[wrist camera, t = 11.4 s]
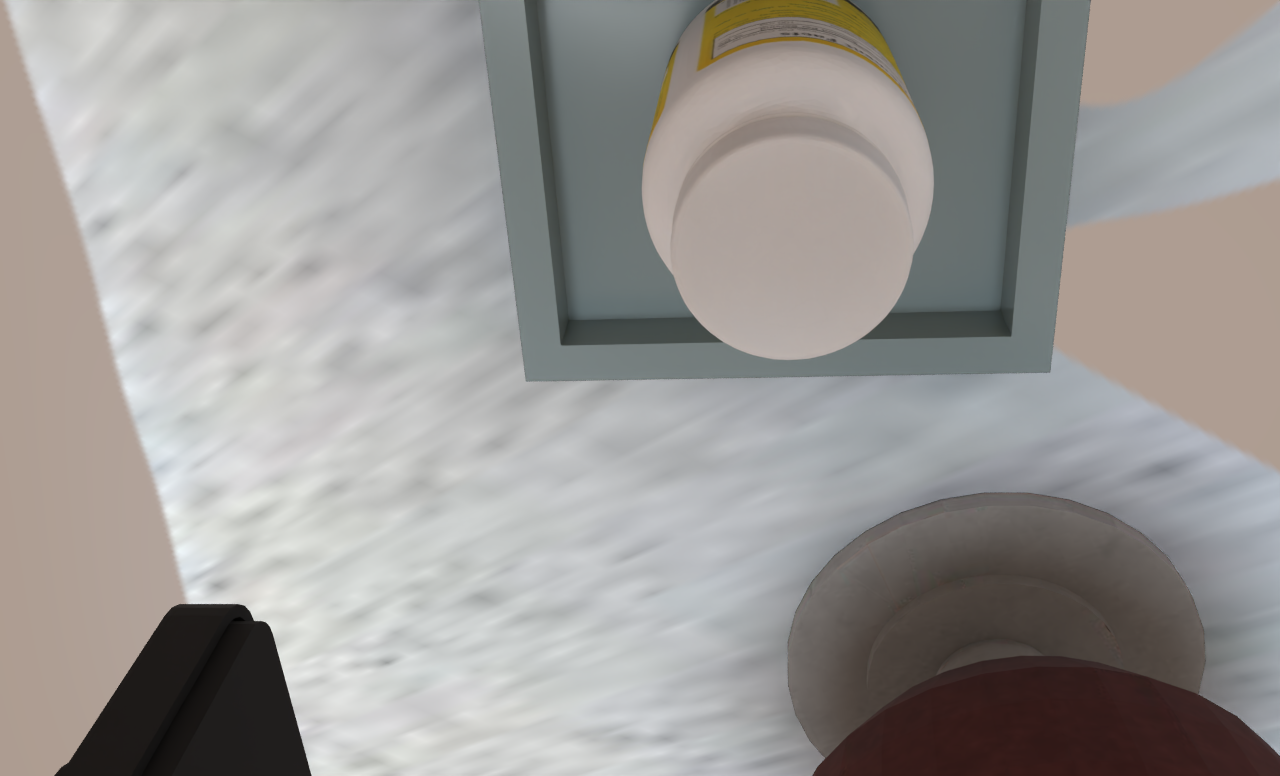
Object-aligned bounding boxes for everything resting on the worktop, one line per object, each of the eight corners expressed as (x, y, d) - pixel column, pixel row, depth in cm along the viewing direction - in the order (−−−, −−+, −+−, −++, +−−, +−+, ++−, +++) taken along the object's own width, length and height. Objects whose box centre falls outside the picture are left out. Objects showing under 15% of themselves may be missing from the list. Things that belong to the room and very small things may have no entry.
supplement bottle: (776, 246, 30) (780, 454, 21) (618, 94, 29) (553, 252, 20) (947, 93, 28) (1027, 256, 19) (784, -81, 26) (793, 13, 18)
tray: (480, -187, 27) (456, -179, 25) (1083, -228, 25) (1115, -224, 23) (540, 338, 33) (526, 381, 31) (1030, 328, 32) (1050, 372, 29)
